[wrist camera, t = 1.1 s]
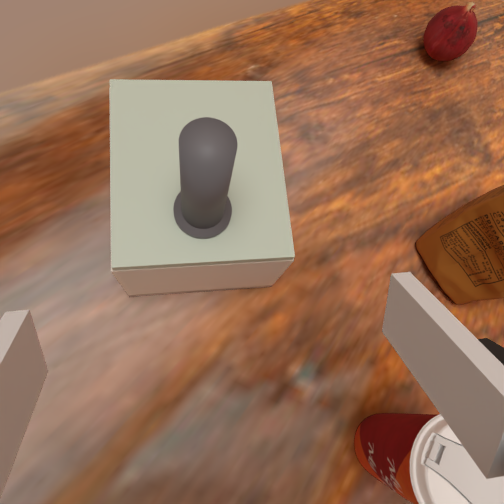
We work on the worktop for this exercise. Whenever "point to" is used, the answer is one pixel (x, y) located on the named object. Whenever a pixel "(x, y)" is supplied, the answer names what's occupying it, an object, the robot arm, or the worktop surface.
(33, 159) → the worktop surface
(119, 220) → the lid
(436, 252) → the coffee package
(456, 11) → the onion
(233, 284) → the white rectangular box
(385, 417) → the paper cup
